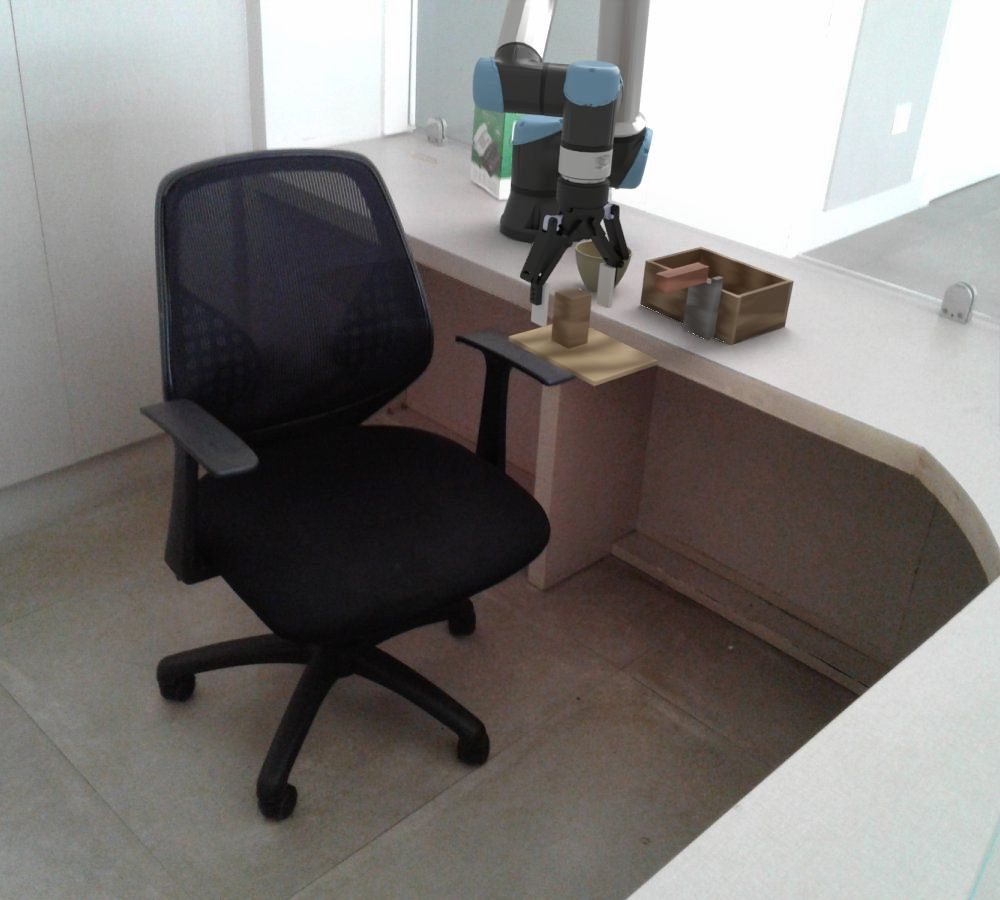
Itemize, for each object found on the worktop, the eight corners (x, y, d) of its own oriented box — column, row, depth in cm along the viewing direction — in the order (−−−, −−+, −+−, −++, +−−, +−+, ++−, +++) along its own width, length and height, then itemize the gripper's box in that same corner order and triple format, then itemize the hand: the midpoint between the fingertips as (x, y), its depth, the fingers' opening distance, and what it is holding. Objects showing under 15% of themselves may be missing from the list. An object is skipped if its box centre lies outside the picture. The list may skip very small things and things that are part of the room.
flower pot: (619, 301, 181) (624, 262, 178) (564, 291, 184) (568, 252, 180) (634, 283, 189) (638, 245, 186) (581, 274, 192) (584, 236, 189)
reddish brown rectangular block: (654, 288, 160) (656, 273, 159) (695, 277, 166) (697, 262, 164) (665, 293, 159) (667, 277, 157) (706, 281, 164) (709, 266, 163)
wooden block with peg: (508, 343, 164) (511, 288, 160) (571, 325, 172) (575, 272, 168) (593, 389, 152) (599, 330, 147) (657, 367, 159) (665, 311, 155)
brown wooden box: (632, 307, 179) (639, 249, 174) (694, 289, 188) (702, 234, 183) (722, 347, 166) (733, 286, 161) (784, 326, 175) (796, 268, 170)
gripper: (535, 195, 141) (526, 340, 151) (662, 171, 155) (646, 305, 166) (500, 181, 146) (493, 323, 156) (626, 160, 160) (612, 291, 171)
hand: (572, 314), depth 161 cm, fingers open, 13 cm apart
